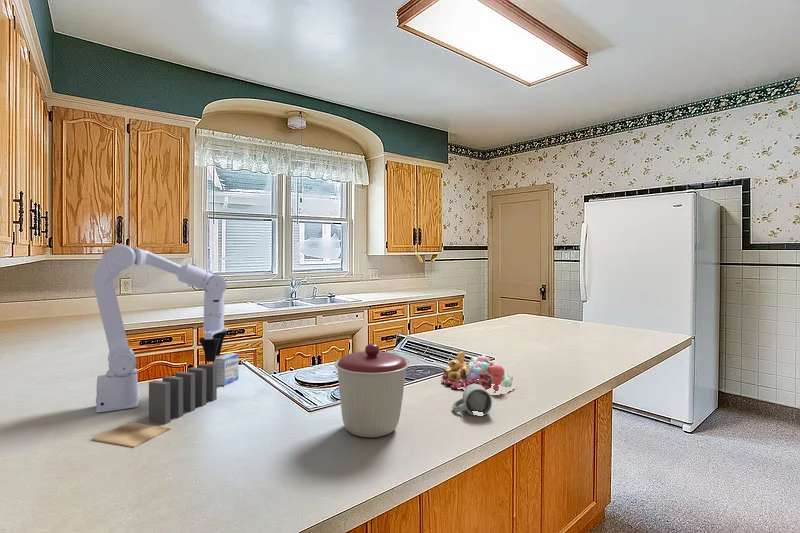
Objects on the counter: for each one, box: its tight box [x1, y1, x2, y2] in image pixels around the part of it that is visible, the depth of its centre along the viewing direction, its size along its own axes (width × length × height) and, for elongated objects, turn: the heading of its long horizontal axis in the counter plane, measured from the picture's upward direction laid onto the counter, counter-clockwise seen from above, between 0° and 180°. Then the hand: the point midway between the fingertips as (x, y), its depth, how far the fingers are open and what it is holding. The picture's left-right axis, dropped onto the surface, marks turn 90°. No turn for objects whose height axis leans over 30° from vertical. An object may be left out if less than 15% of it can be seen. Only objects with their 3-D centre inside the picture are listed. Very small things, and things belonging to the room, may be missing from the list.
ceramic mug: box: [451, 384, 493, 416], centre depth 120 cm, size 10×8×7 cm
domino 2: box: [162, 375, 184, 419], centre depth 112 cm, size 2×5×10 cm, turn 74°
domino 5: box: [197, 363, 218, 402], centre depth 125 cm, size 2×5×10 cm, turn 75°
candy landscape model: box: [441, 351, 514, 393], centre depth 146 cm, size 25×24×9 cm
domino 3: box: [174, 371, 196, 413], centre depth 116 cm, size 2×5×10 cm, turn 75°
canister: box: [334, 343, 410, 438], centre depth 106 cm, size 18×18×21 cm
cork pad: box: [91, 421, 171, 448], centre depth 101 cm, size 10×12×1 cm
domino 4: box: [186, 366, 207, 407], centre depth 121 cm, size 2×5×10 cm, turn 74°
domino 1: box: [148, 380, 171, 425], centre depth 108 cm, size 2×5×10 cm, turn 75°
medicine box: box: [212, 352, 240, 387], centre depth 141 cm, size 8×4×9 cm, turn 168°
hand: (213, 358), depth 132 cm, fingers open, 7 cm apart
